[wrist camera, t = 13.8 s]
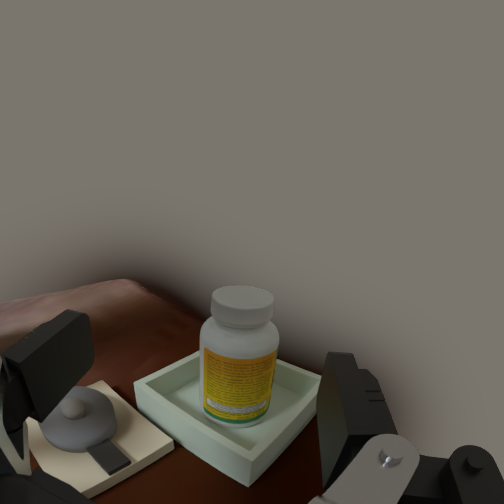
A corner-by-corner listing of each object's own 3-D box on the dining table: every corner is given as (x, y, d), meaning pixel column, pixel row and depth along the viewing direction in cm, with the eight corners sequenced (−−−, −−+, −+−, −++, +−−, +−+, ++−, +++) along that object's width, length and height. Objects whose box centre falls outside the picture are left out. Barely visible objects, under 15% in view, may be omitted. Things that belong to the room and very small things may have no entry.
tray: (138, 411, 21) (133, 382, 21) (224, 362, 30) (225, 337, 29) (248, 487, 16) (252, 461, 15) (322, 406, 24) (329, 378, 23)
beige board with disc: (16, 424, 16) (4, 397, 15) (104, 389, 23) (99, 363, 22) (69, 508, 11) (54, 484, 10) (174, 448, 18) (171, 422, 18)
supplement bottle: (192, 392, 24) (192, 283, 21) (252, 382, 26) (262, 279, 24) (212, 437, 19) (215, 316, 17) (281, 421, 21) (300, 307, 19)
